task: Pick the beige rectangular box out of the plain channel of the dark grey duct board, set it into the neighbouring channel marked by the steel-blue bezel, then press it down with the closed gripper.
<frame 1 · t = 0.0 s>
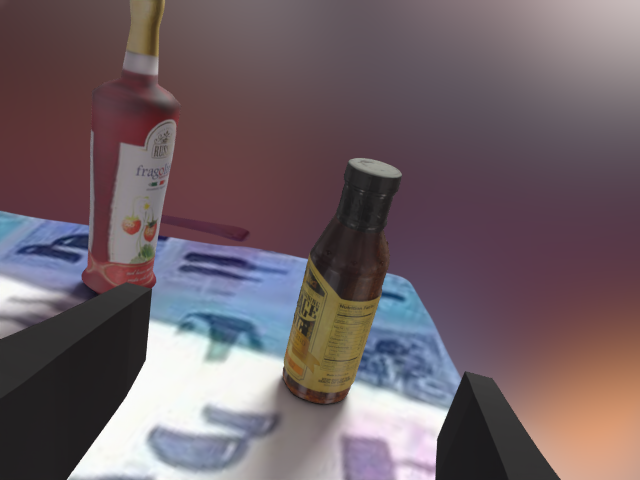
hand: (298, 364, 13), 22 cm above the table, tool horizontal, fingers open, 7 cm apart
sauce bottle: (314, 387, 49), on the table
liquor: (118, 291, 56), on the table
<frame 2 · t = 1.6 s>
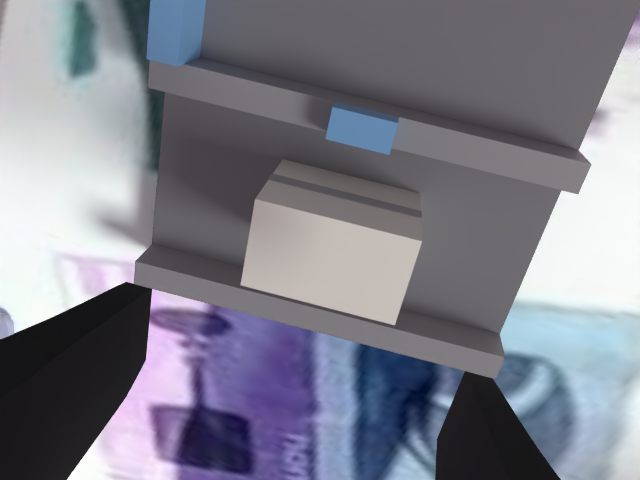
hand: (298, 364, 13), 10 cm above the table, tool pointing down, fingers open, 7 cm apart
duct board: (368, 108, 20), on the table
beige rectangular box: (341, 214, 21), point 1 cm above the table, touching duct board
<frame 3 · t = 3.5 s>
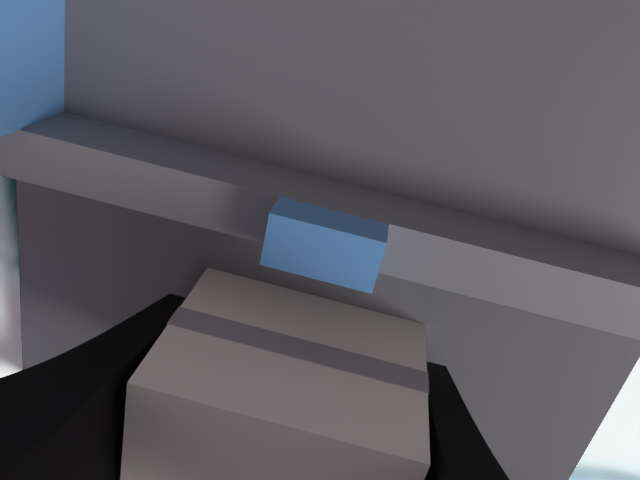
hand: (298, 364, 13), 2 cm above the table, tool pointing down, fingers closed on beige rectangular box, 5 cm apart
duct board: (343, 188, 13), on the table
beige rectangular box: (302, 348, 13), point 1 cm above the table, touching duct board, gripper
when the fingers open (3 cm above the table, at t = 7.3 s): beige rectangular box stays where it is, resting on duct board.
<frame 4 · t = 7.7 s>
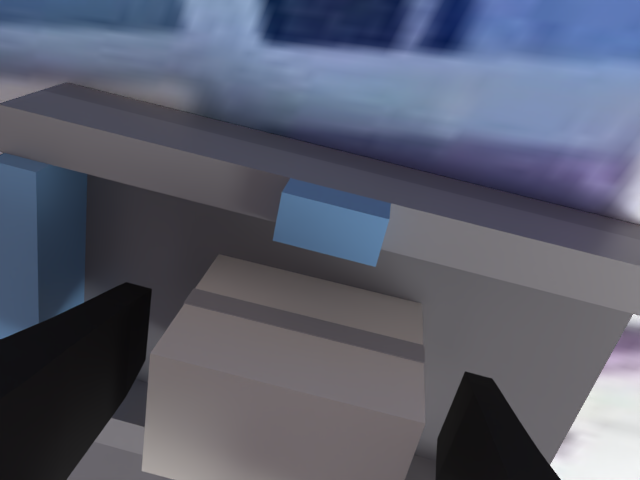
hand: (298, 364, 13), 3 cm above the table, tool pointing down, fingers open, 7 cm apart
duct board: (290, 409, 17), on the table
beige rectangular box: (308, 329, 14), point 1 cm above the table, touching duct board
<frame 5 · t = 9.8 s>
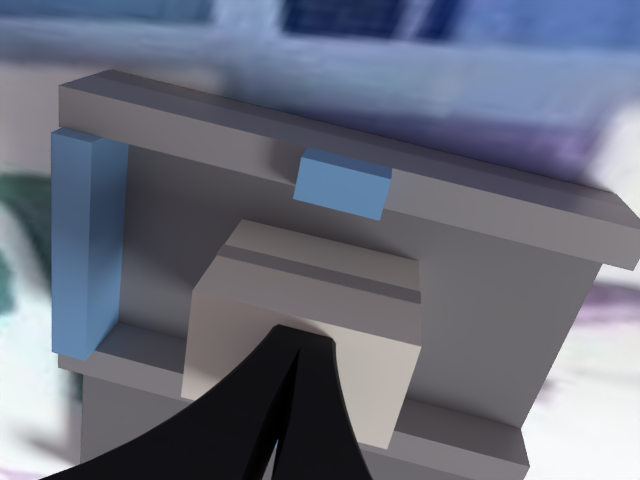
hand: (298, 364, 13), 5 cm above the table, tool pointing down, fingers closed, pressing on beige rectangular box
duct board: (301, 363, 19), on the table
beige rectangular box: (319, 285, 16), point 1 cm above the table, touching duct board, gripper
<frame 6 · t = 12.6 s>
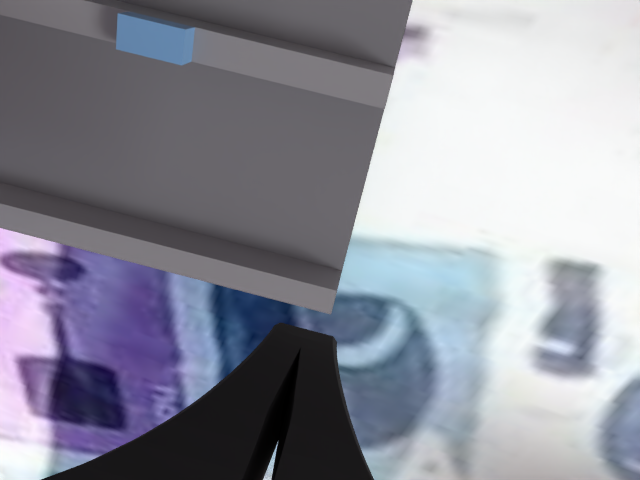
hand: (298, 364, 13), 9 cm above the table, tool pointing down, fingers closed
duct board: (190, 29, 19), on the table
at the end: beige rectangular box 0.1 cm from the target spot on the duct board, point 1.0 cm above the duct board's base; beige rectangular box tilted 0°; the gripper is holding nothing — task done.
